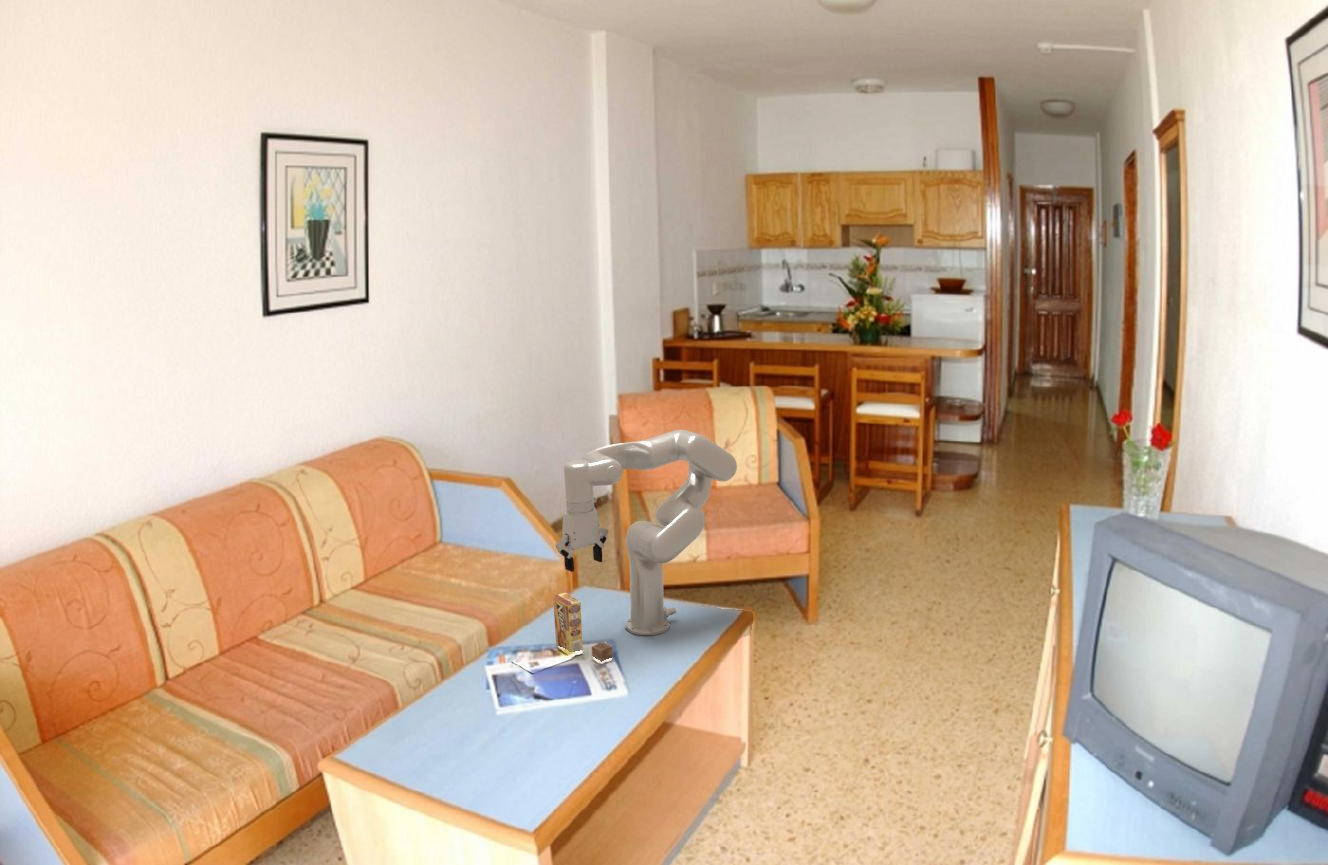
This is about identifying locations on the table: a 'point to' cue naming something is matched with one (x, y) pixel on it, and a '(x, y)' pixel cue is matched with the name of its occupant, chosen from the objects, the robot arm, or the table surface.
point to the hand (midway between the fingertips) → (584, 565)
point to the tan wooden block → (602, 651)
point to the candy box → (568, 622)
